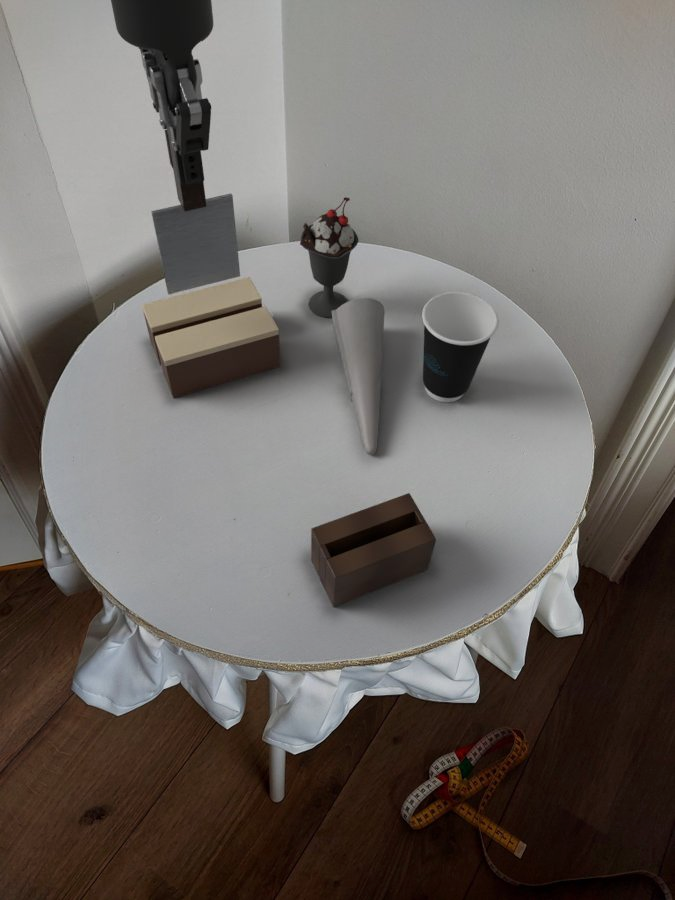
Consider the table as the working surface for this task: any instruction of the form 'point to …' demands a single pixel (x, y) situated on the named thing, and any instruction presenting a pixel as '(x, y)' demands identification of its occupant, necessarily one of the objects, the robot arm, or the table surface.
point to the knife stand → (371, 549)
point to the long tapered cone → (362, 361)
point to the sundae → (328, 257)
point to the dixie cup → (454, 342)
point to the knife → (196, 237)
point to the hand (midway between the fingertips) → (187, 174)
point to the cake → (212, 336)
